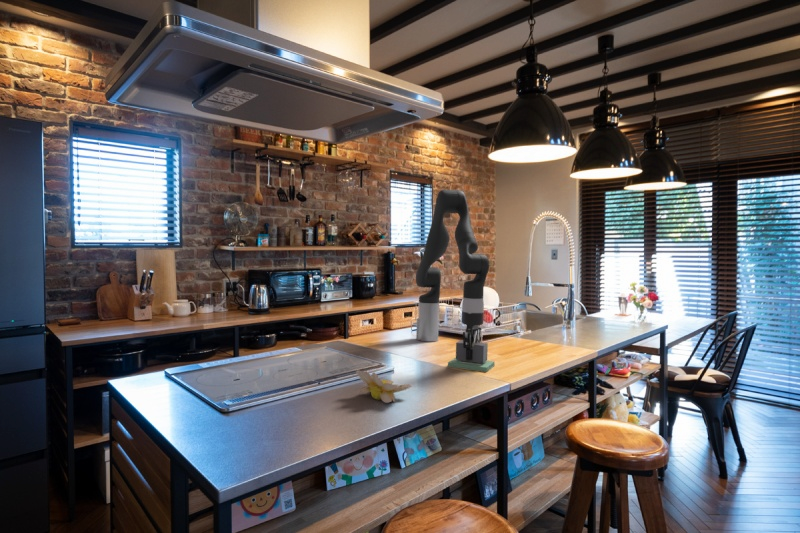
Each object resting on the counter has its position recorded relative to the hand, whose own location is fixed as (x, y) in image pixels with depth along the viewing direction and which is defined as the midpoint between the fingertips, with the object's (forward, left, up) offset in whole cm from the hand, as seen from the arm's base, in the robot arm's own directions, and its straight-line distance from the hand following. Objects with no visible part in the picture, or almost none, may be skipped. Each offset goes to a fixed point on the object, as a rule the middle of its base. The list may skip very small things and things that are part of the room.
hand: (471, 358), depth 159 cm
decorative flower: (-10, -47, -3) cm, 48 cm away
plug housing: (0, 0, -1) cm, 1 cm away
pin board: (0, 0, -3) cm, 3 cm away
